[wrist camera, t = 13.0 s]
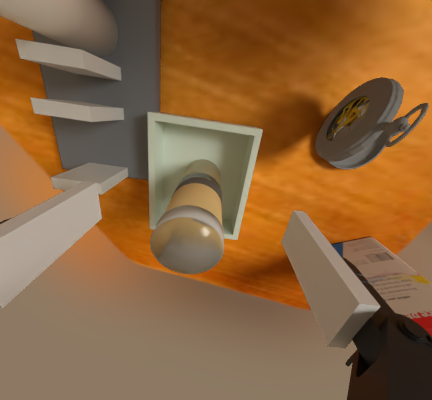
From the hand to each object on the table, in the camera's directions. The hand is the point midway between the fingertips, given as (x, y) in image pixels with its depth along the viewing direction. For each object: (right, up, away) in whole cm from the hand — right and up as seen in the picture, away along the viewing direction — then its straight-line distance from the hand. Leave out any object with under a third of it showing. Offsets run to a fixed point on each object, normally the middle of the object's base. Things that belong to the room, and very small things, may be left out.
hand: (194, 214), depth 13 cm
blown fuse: (0, +4, +8) cm, 9 cm away
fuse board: (-9, +12, +6) cm, 16 cm away
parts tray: (0, +4, +9) cm, 10 cm away
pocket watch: (+15, +8, +7) cm, 18 cm away
